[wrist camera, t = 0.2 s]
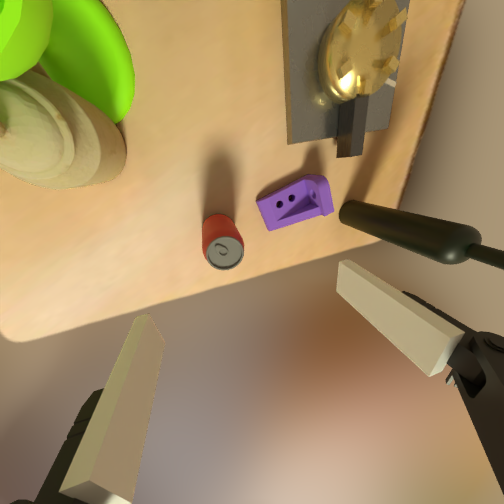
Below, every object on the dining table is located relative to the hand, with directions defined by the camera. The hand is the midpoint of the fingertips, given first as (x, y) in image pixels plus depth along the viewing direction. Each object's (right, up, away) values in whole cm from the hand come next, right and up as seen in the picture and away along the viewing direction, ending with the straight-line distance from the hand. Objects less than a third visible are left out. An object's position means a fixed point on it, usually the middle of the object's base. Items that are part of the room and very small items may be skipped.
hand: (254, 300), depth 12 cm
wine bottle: (+23, +13, +31) cm, 41 cm away
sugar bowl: (-26, +20, +13) cm, 35 cm away
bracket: (+7, +14, +26) cm, 31 cm away
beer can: (-7, +8, +25) cm, 27 cm away
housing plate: (+15, +34, +18) cm, 41 cm away
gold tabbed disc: (+16, +30, +18) cm, 38 cm away
